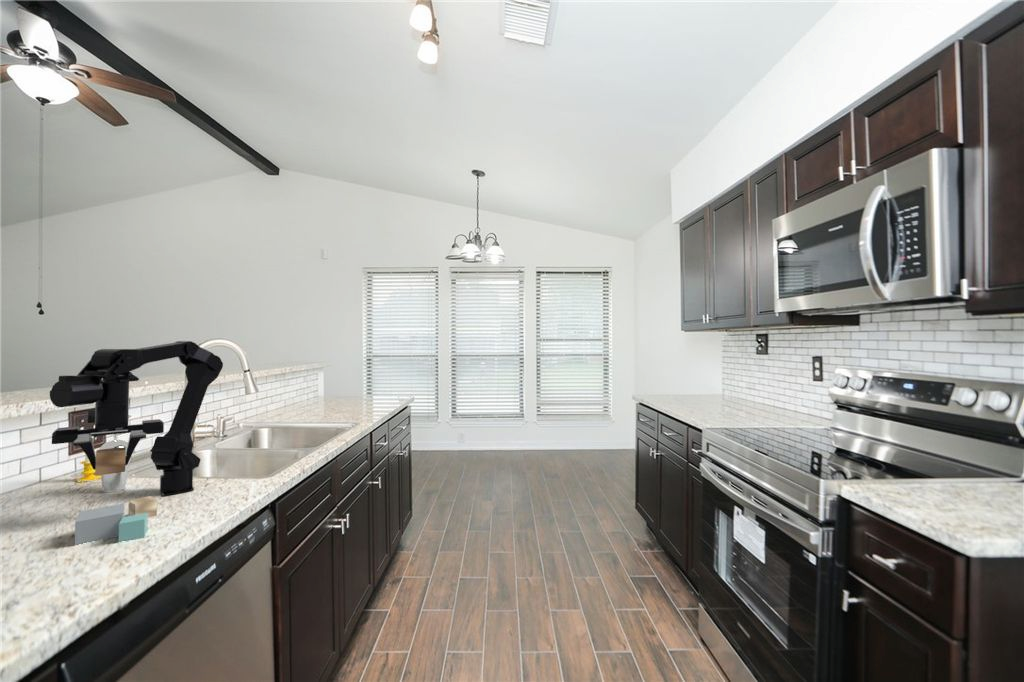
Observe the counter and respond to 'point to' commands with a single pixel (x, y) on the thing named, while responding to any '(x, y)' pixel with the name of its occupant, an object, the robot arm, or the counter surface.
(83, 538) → the grey cube
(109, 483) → the cup with straw
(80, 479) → the candle
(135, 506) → the maple cube
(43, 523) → the counter surface
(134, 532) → the teal cube
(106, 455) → the walnut cube
